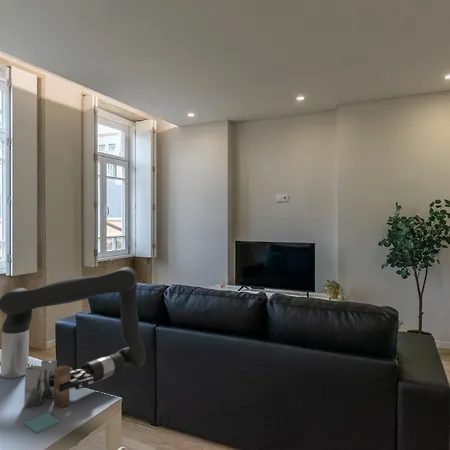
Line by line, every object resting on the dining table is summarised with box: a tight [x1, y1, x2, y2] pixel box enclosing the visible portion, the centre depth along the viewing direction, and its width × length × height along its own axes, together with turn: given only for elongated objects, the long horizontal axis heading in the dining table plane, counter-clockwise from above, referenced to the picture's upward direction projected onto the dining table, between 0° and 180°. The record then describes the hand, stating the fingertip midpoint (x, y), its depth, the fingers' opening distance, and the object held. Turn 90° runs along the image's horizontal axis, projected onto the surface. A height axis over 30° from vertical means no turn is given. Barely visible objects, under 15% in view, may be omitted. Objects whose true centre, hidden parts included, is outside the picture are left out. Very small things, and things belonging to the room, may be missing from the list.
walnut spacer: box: [53, 365, 71, 409], centre depth 122 cm, size 5×5×12 cm
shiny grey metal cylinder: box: [40, 358, 58, 400], centre depth 127 cm, size 5×5×12 cm
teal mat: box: [24, 412, 61, 434], centre depth 111 cm, size 7×7×1 cm
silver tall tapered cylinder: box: [23, 365, 42, 409], centre depth 121 cm, size 5×5×12 cm
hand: (54, 386), depth 120 cm, fingers closed on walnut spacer, 4 cm apart
